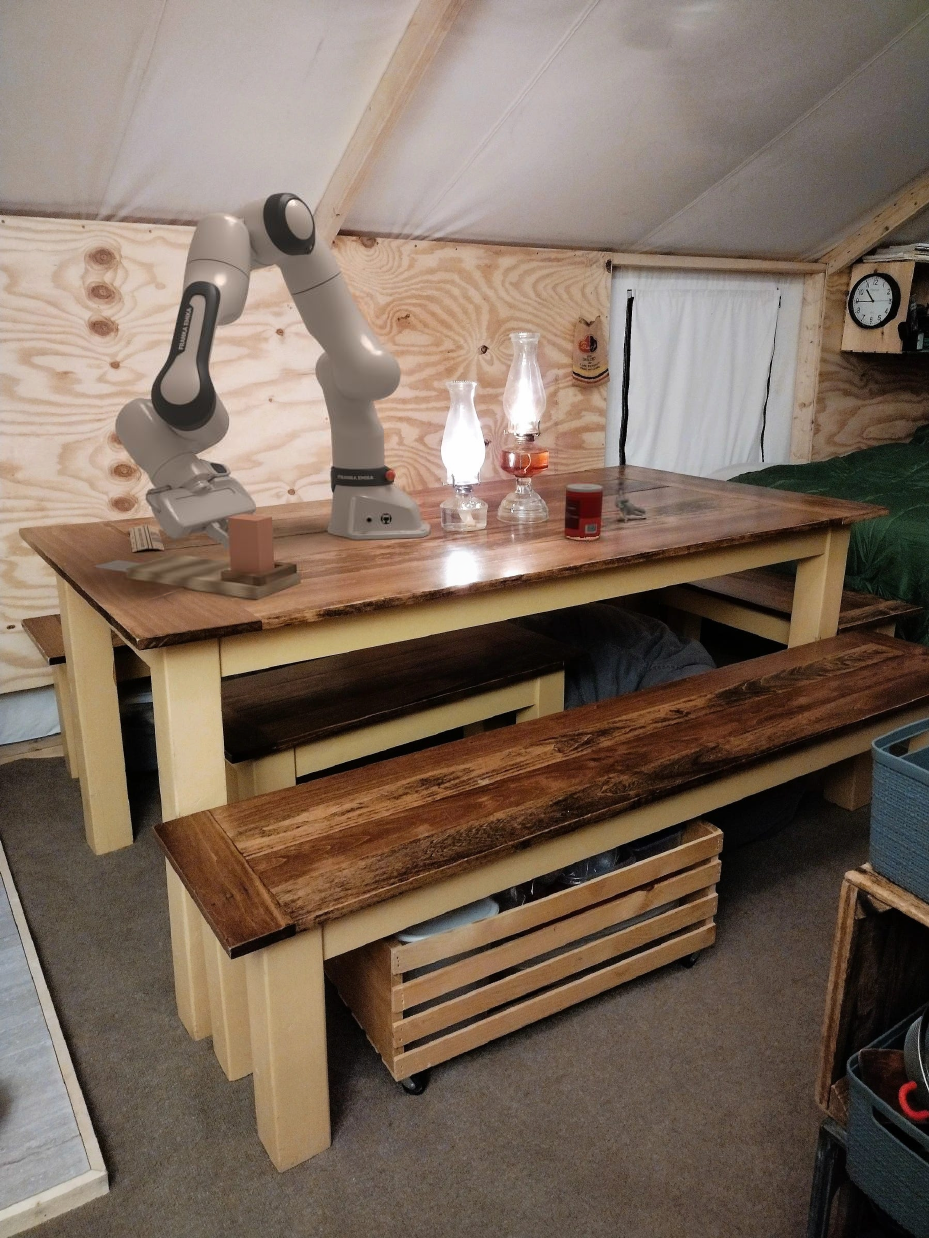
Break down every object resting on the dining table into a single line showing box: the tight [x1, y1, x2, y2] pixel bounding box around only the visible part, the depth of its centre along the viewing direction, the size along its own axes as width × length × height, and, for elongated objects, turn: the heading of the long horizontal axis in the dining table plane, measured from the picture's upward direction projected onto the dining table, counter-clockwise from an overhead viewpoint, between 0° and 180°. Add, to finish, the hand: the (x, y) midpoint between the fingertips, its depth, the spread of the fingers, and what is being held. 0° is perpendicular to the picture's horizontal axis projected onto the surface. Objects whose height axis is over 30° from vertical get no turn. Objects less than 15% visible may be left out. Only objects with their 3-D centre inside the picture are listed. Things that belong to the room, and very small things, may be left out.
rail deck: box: [125, 553, 302, 600], centre depth 160 cm, size 28×12×4 cm, turn 65°
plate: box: [93, 559, 143, 573], centre depth 168 cm, size 8×6×1 cm
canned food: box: [563, 483, 604, 538], centre depth 197 cm, size 8×8×11 cm
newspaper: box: [128, 525, 165, 554], centre depth 190 cm, size 24×7×2 cm, turn 21°
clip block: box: [228, 514, 275, 574], centre depth 154 cm, size 6×4×10 cm, turn 65°
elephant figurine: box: [614, 489, 648, 520], centre depth 218 cm, size 10×6×9 cm
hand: (234, 545), depth 156 cm, fingers closed, pressing on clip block
